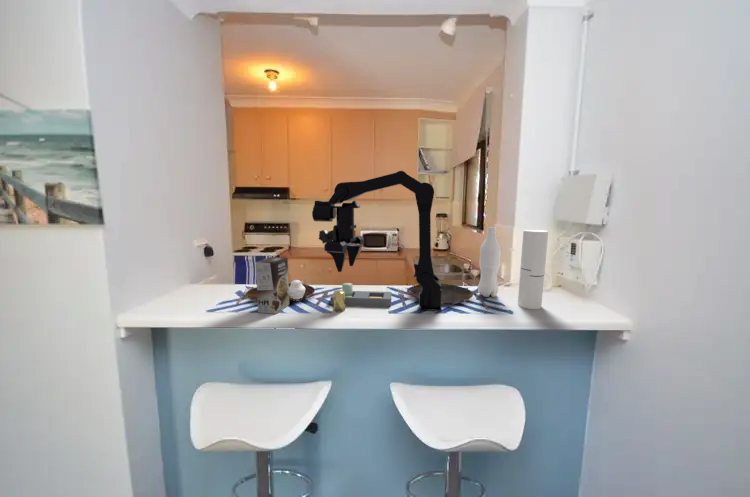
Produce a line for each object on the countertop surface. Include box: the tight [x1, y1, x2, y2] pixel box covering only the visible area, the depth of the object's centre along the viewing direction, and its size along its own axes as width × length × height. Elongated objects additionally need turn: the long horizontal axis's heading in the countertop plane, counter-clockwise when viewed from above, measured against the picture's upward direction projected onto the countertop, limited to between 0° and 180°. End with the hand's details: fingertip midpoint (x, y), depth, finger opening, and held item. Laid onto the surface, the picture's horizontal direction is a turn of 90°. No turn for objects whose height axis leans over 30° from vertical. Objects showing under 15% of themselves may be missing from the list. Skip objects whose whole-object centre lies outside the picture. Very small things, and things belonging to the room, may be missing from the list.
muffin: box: [289, 279, 306, 299], centre depth 111 cm, size 6×6×7 cm
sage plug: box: [341, 282, 354, 297], centre depth 110 cm, size 4×4×6 cm
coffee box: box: [255, 256, 290, 315], centre depth 101 cm, size 9×6×16 cm
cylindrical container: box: [517, 229, 549, 310], centre depth 105 cm, size 7×7×25 cm
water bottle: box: [477, 226, 502, 298], centre depth 115 cm, size 7×7×25 cm
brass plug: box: [333, 289, 346, 313], centre depth 101 cm, size 4×4×6 cm
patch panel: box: [329, 290, 392, 307], centre depth 109 cm, size 20×8×3 cm, turn 85°
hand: (345, 268), depth 107 cm, fingers open, 9 cm apart
